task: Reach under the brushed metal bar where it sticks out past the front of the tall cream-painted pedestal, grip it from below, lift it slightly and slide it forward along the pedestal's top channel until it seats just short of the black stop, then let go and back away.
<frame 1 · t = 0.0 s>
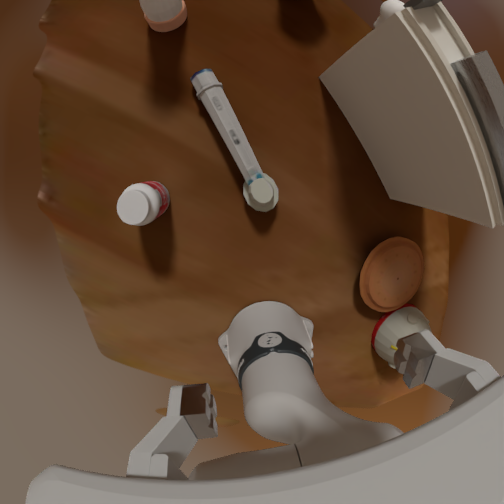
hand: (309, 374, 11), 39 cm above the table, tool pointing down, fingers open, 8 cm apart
pill bottle: (153, 198, 46), on the table
toothbrush head: (233, 140, 44), on the table
lightbulb: (376, 28, 39), on the table
kitchen timer: (396, 329, 58), on the table
pie: (385, 269, 53), on the table
stand: (375, 127, 45), on the table
brushed metal bar: (501, 173, 22), point 26 cm above the table, touching stand
pepper shaker: (167, 17, 36), on the table
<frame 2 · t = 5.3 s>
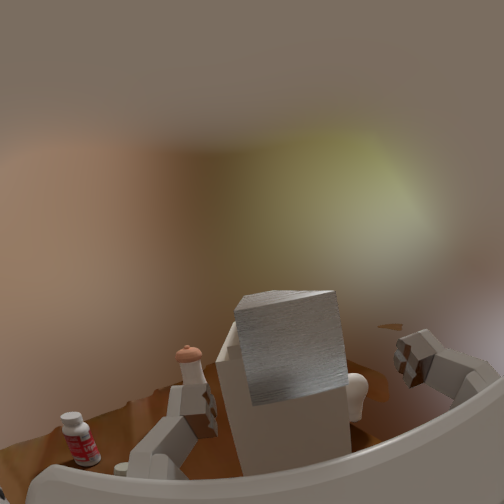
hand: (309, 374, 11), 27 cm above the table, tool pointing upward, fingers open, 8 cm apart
pill bottle: (89, 461, 38), on the table
lightbulb: (355, 422, 46), on the table
stand: (296, 492, 29), on the table
brushed metal bar: (272, 339, 24), point 26 cm above the table, touching stand
pepper shaker: (202, 412, 66), on the table
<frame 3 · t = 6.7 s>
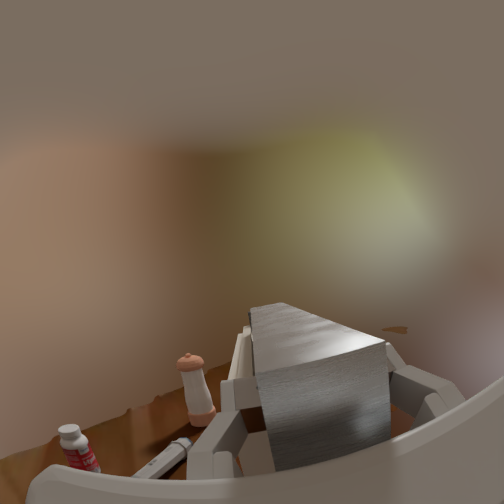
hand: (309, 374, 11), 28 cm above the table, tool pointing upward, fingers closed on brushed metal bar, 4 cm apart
pill bottle: (88, 474, 35), on the table
toothbrush head: (161, 482, 36), on the table
brushed metal bar: (285, 364, 21), point 26 cm above the table, touching gripper, stand
pepper shaker: (204, 421, 63), on the table
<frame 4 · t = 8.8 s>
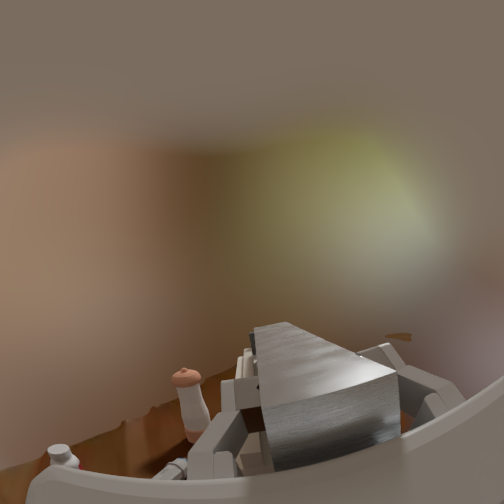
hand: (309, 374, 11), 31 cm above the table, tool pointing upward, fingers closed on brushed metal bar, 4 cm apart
pill bottle: (81, 494, 30), on the table
brushed metal bar: (290, 386, 20), point 27 cm above the table, touching gripper
pepper shaker: (201, 437, 58), on the table
when the fingers open (30 cm above the table, at t = 9.8 s): brushed metal bar stays where it is, resting on stand.
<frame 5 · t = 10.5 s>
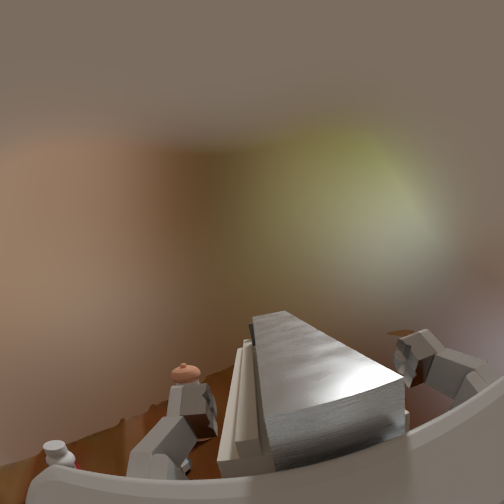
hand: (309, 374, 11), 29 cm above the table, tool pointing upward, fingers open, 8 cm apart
pill bottle: (77, 492, 29), on the table
brushed metal bar: (290, 379, 20), point 26 cm above the table, touching stand
pepper shaker: (201, 435, 57), on the table
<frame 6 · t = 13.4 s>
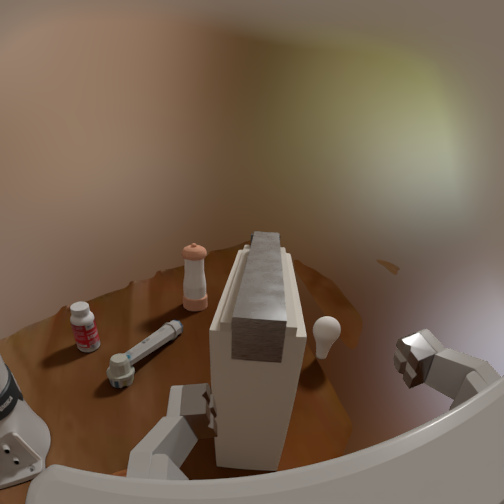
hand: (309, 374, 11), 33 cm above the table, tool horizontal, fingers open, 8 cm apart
pill bottle: (89, 346, 58), on the table
toothbrush head: (149, 358, 58), on the table
lightbulb: (320, 359, 62), on the table
stand: (252, 411, 45), on the table
brushed metal bar: (262, 289, 35), point 26 cm above the table, touching stand
pepper shaker: (195, 306, 84), on the table
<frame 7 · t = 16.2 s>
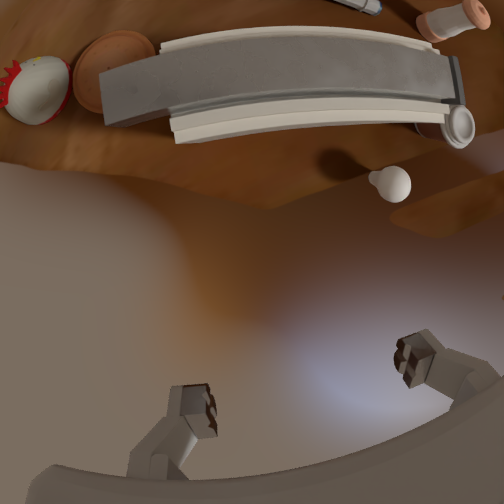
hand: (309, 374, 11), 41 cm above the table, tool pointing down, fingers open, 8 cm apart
lightbulb: (371, 176, 50), on the table
kitchen timer: (45, 90, 36), on the table
coffee cup: (424, 123, 46), on the table
pie: (118, 74, 38), on the table
stand: (272, 105, 43), on the table
brushed metal bar: (292, 73, 19), point 26 cm above the table, touching stand
pepper shaker: (427, 28, 38), on the table
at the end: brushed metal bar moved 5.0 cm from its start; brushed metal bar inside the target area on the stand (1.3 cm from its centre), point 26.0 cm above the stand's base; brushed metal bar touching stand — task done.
